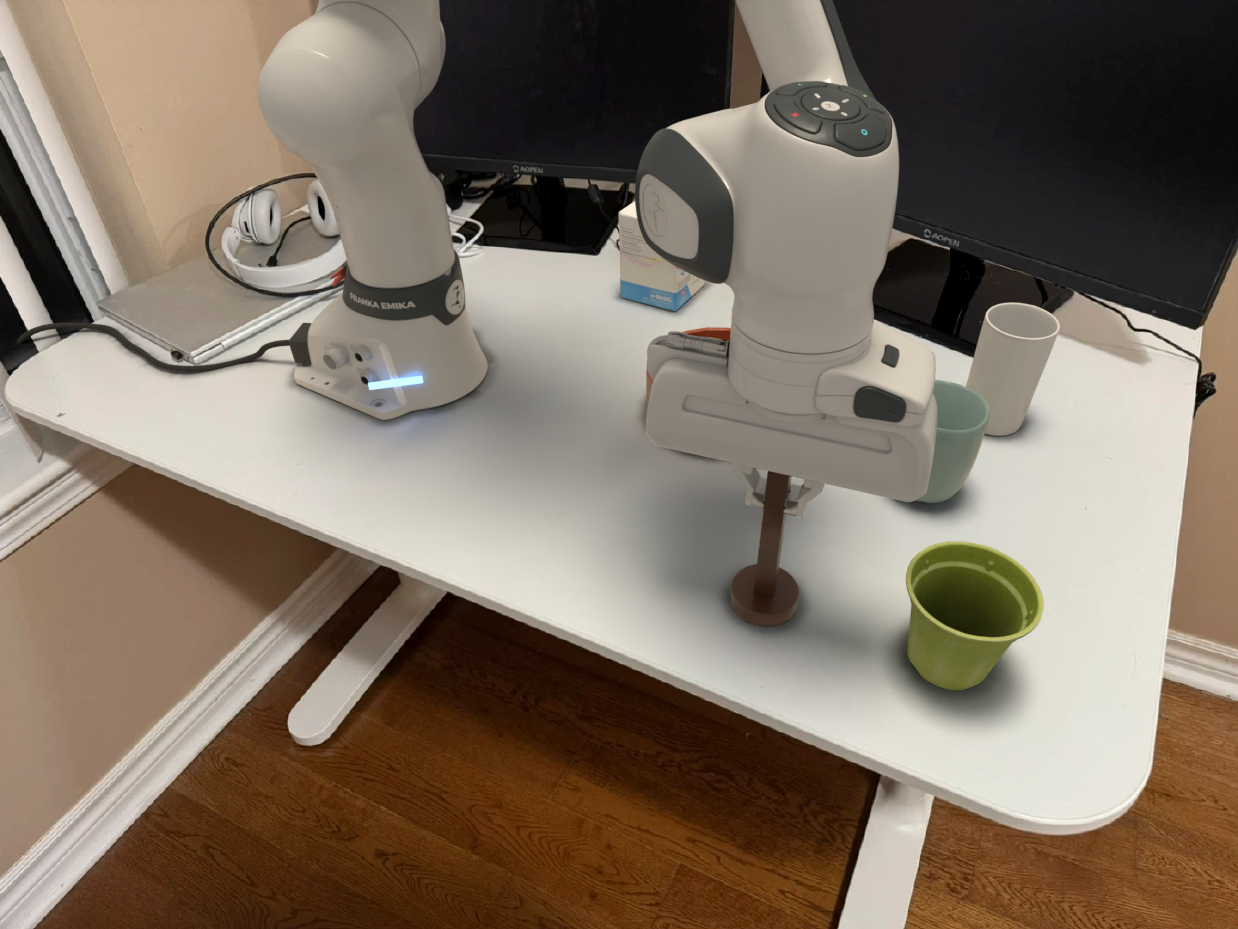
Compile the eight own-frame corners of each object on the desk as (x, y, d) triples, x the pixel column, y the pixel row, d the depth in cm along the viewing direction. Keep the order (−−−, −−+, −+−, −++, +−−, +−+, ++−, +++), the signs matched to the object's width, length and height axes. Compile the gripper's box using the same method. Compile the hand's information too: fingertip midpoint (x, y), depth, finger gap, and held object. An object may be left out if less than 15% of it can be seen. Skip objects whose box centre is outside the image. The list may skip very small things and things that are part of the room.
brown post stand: (722, 616, 71) (735, 456, 59) (739, 568, 74) (755, 410, 63) (788, 634, 69) (815, 473, 57) (803, 585, 73) (830, 425, 61)
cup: (972, 476, 83) (1000, 394, 76) (952, 525, 78) (979, 442, 71) (893, 451, 86) (914, 370, 79) (869, 497, 81) (888, 415, 74)
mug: (1013, 446, 86) (1049, 346, 78) (947, 424, 89) (976, 325, 81) (1039, 396, 92) (1075, 300, 84) (977, 377, 95) (1006, 282, 87)
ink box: (675, 313, 107) (677, 213, 98) (618, 297, 111) (616, 199, 102) (706, 284, 113) (710, 186, 104) (651, 269, 116) (651, 174, 107)
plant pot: (1007, 727, 62) (1042, 656, 56) (876, 689, 65) (898, 617, 59) (1012, 631, 69) (1045, 559, 63) (893, 600, 71) (914, 528, 66)
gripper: (631, 351, 56) (634, 501, 65) (952, 412, 50) (906, 568, 59) (662, 304, 61) (660, 451, 70) (960, 356, 55) (916, 509, 64)
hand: (775, 506), depth 64 cm, fingers closed on brown post stand
